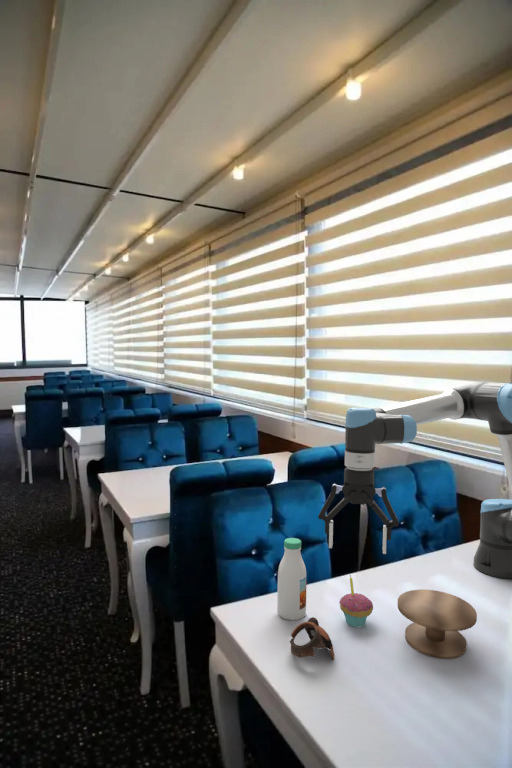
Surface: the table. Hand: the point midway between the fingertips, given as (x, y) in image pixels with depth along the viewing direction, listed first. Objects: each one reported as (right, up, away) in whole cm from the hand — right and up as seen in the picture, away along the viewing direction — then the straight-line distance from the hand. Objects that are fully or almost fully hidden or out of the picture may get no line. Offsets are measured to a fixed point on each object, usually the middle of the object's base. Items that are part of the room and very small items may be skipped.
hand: (357, 549), depth 124 cm
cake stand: (+17, -20, -7) cm, 27 cm away
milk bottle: (-17, -19, +5) cm, 26 cm away
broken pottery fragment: (-13, -20, -13) cm, 27 cm away
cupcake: (0, -20, +1) cm, 20 cm away
